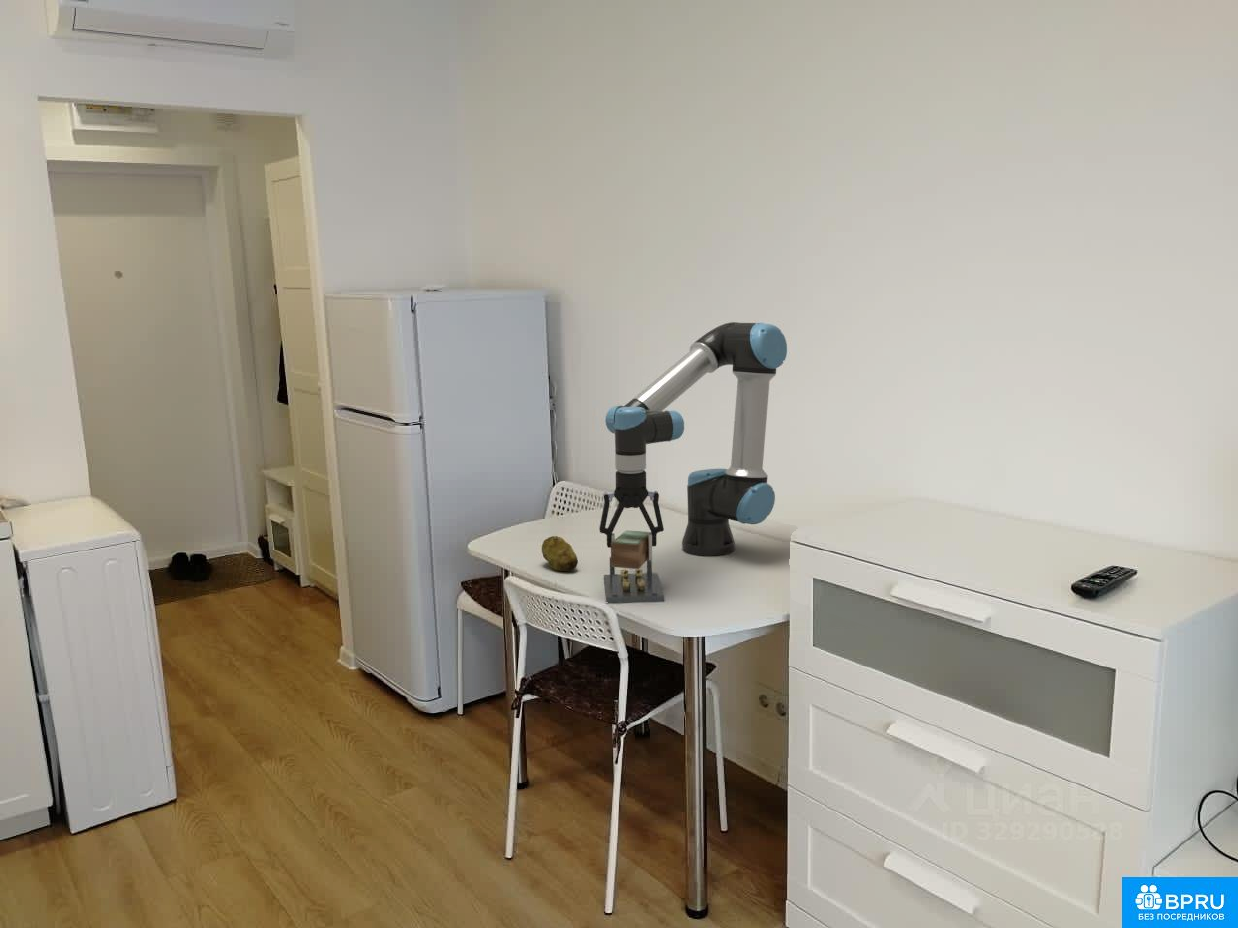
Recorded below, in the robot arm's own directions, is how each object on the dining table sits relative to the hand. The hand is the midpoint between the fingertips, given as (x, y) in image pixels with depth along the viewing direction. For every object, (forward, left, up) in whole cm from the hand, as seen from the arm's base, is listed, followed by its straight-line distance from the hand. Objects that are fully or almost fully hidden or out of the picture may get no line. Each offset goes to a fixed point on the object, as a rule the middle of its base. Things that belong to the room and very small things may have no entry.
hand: (631, 559), depth 244 cm
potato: (+18, -22, -8) cm, 30 cm away
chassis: (0, 0, -8) cm, 8 cm away
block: (0, 0, 0) cm, 0 cm away
